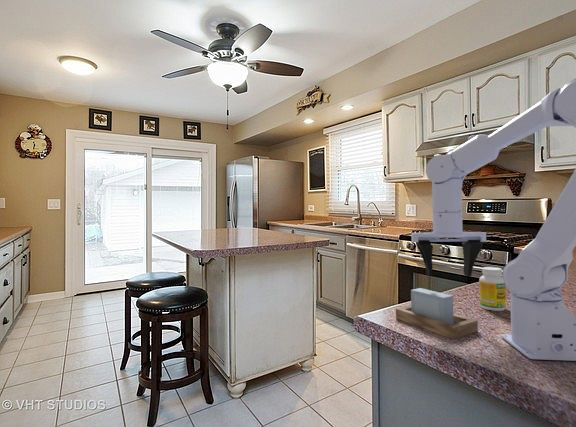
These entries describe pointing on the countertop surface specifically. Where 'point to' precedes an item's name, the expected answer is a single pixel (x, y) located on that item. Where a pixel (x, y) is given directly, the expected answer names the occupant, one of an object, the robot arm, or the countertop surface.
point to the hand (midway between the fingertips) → (448, 275)
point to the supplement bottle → (492, 289)
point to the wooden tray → (439, 323)
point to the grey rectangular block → (432, 304)
